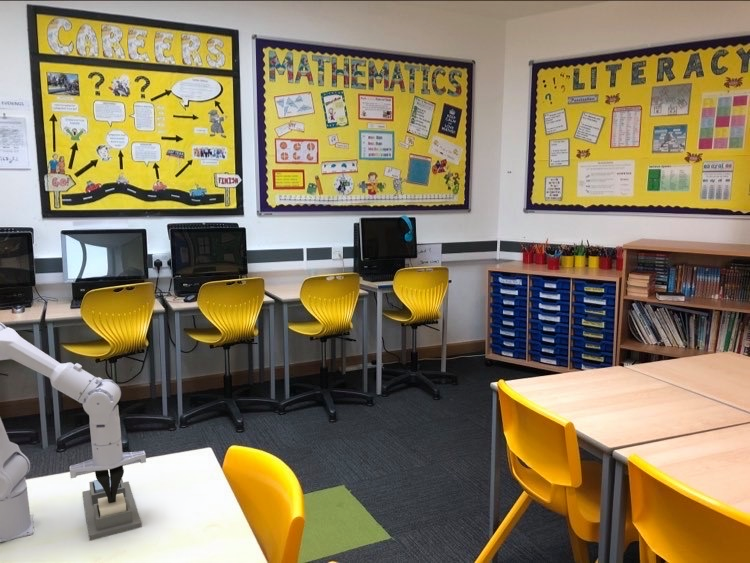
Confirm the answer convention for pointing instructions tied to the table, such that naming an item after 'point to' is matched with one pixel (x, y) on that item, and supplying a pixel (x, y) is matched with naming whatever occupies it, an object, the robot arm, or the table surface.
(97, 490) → the blue key
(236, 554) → the table surface
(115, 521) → the key board
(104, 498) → the white key
